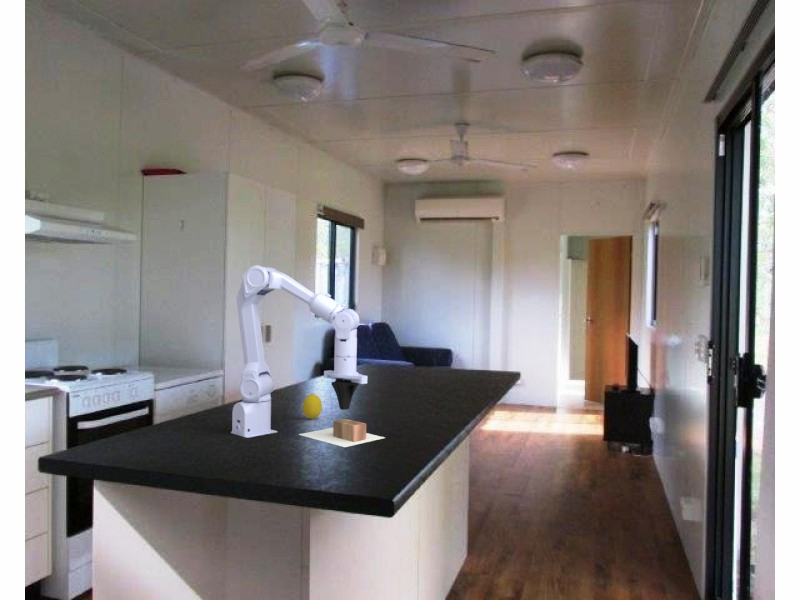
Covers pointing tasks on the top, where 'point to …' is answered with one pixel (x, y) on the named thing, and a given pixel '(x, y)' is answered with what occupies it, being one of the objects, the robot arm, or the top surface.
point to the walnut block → (349, 430)
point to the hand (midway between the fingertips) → (344, 409)
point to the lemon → (312, 406)
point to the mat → (327, 436)
